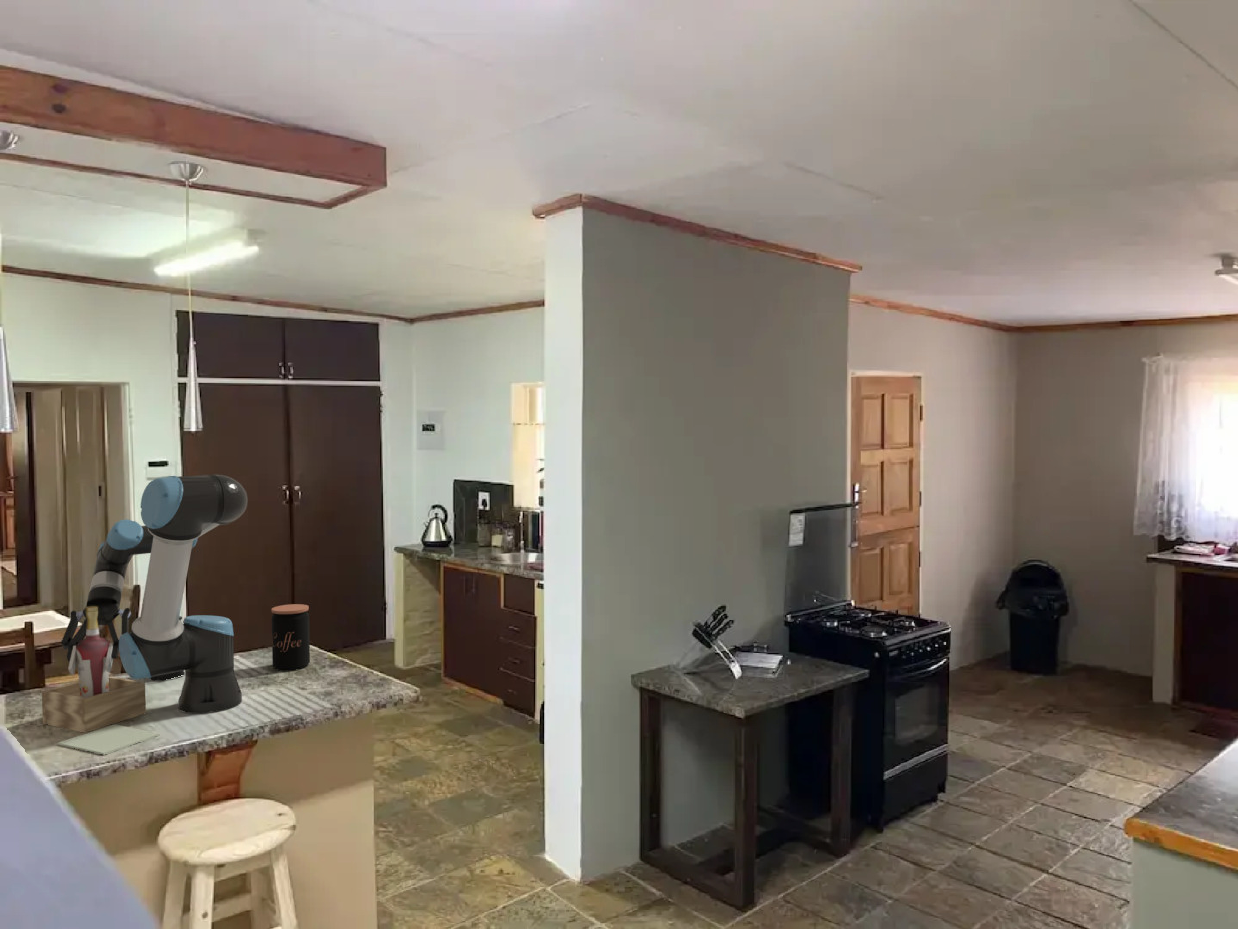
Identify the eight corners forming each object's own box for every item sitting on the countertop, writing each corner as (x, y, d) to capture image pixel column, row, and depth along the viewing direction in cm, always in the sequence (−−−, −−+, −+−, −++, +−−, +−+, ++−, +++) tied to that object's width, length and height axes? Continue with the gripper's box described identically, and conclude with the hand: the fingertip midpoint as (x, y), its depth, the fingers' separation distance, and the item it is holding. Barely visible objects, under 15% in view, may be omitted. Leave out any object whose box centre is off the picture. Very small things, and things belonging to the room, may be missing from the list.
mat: (159, 735, 214) (159, 733, 214) (104, 755, 201) (103, 753, 201) (114, 726, 221) (114, 724, 221) (57, 744, 208) (57, 742, 208)
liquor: (115, 718, 227) (112, 607, 226) (82, 725, 222) (78, 611, 221) (107, 712, 232) (104, 603, 231) (74, 718, 227) (71, 607, 226)
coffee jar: (265, 670, 271) (264, 610, 270) (284, 661, 281) (283, 603, 280) (298, 672, 269) (297, 611, 268) (316, 662, 279) (315, 604, 279)
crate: (145, 713, 231) (145, 682, 230) (85, 732, 216) (84, 699, 216) (104, 705, 238) (103, 675, 237) (42, 723, 223) (41, 691, 223)
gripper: (150, 599, 243) (138, 675, 228) (65, 603, 238) (46, 681, 223) (145, 582, 238) (132, 659, 223) (58, 586, 232) (38, 665, 218)
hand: (89, 670), depth 223 cm, fingers closed on liquor, 7 cm apart
